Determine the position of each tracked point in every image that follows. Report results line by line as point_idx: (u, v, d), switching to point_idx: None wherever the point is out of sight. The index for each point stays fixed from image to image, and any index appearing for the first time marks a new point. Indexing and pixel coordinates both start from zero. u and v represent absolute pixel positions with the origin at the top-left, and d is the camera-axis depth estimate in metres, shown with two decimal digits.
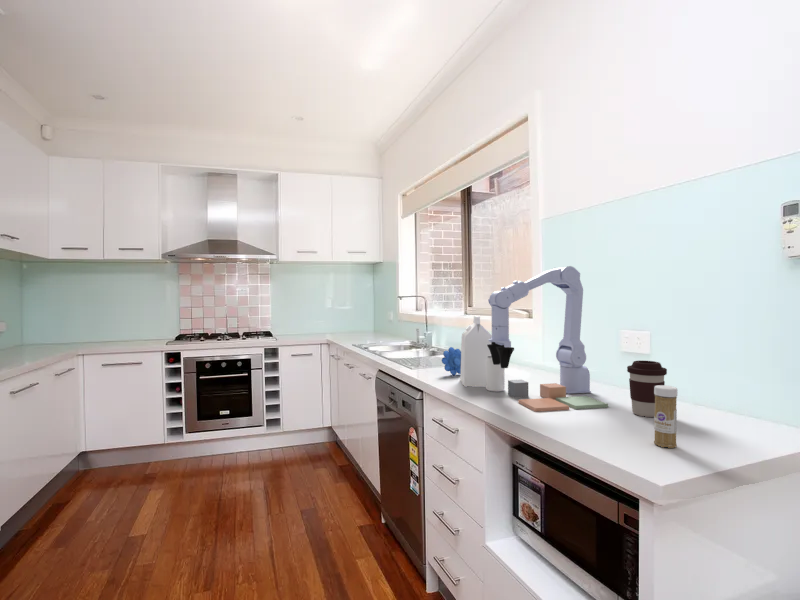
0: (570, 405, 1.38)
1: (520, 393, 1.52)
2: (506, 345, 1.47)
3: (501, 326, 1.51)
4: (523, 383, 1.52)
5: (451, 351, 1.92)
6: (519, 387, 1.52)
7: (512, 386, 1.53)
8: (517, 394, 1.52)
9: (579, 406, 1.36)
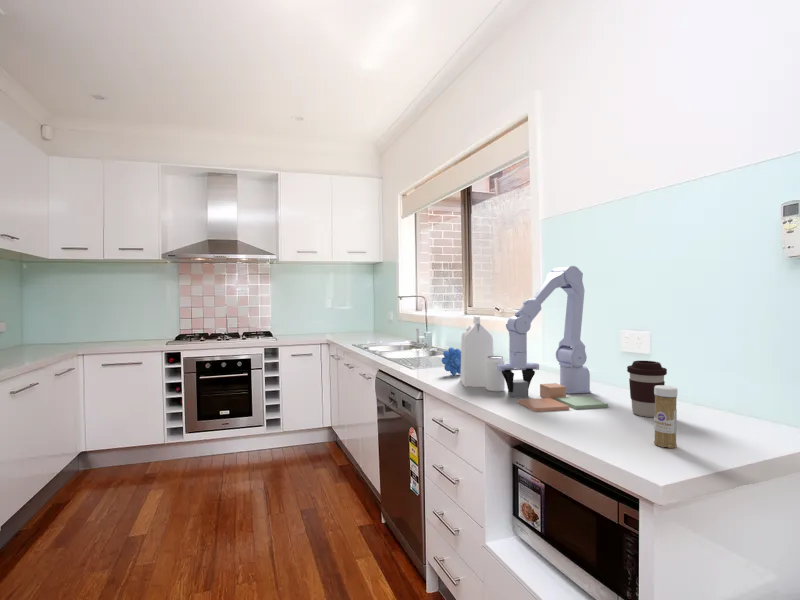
0: (570, 405, 1.38)
1: (520, 392, 1.52)
2: (497, 368, 1.53)
3: (509, 351, 1.54)
4: (523, 383, 1.52)
5: (451, 351, 1.92)
6: (519, 386, 1.52)
7: None
8: (517, 394, 1.52)
9: (579, 406, 1.36)
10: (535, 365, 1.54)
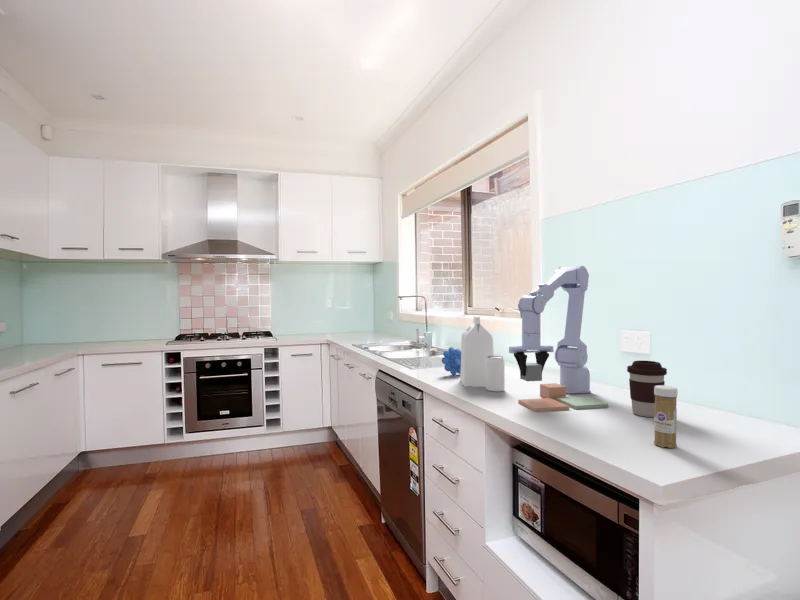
0: (570, 405, 1.38)
1: (533, 376, 1.44)
2: (509, 350, 1.45)
3: (522, 332, 1.46)
4: (536, 366, 1.44)
5: (451, 351, 1.92)
6: (532, 370, 1.44)
7: None
8: (530, 378, 1.43)
9: (579, 406, 1.36)
10: (549, 347, 1.46)
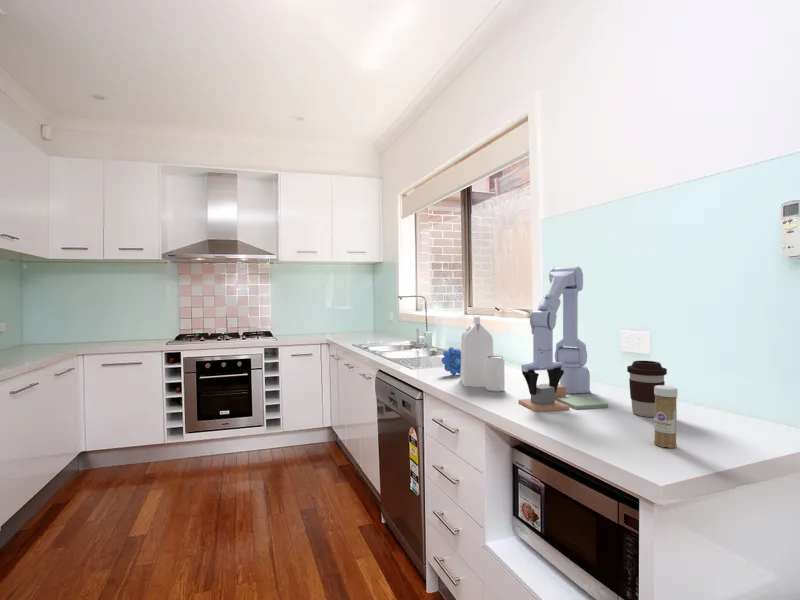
0: (570, 405, 1.38)
1: (547, 399, 1.37)
2: (522, 369, 1.37)
3: (534, 349, 1.39)
4: (549, 388, 1.38)
5: (451, 351, 1.92)
6: (545, 393, 1.37)
7: (537, 392, 1.38)
8: (544, 401, 1.37)
9: (579, 406, 1.36)
10: (560, 364, 1.41)
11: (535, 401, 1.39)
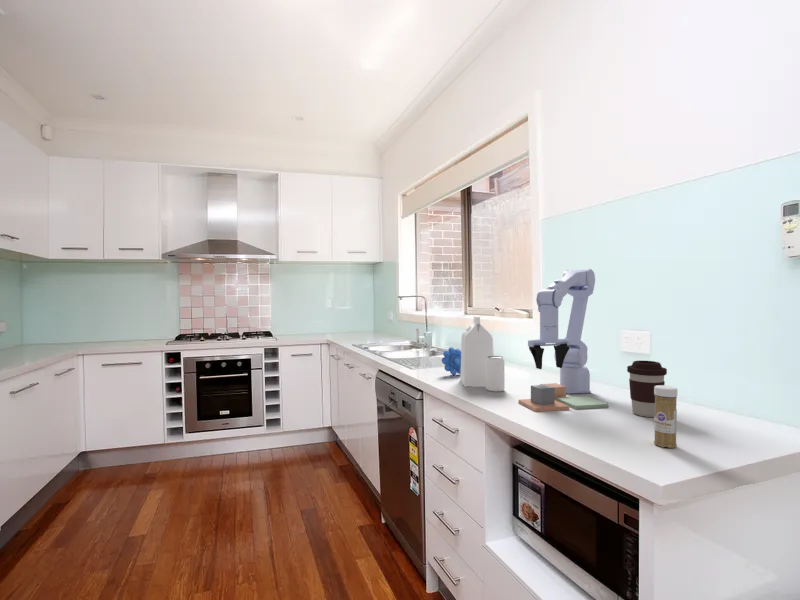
0: (570, 405, 1.38)
1: (547, 399, 1.37)
2: (528, 344, 1.46)
3: (540, 326, 1.47)
4: (549, 388, 1.38)
5: (451, 351, 1.92)
6: (545, 393, 1.37)
7: (537, 392, 1.38)
8: (544, 401, 1.37)
9: (579, 406, 1.36)
10: (566, 340, 1.48)
11: (535, 401, 1.39)
